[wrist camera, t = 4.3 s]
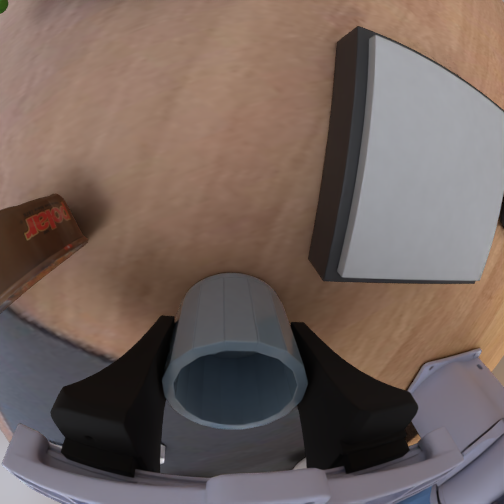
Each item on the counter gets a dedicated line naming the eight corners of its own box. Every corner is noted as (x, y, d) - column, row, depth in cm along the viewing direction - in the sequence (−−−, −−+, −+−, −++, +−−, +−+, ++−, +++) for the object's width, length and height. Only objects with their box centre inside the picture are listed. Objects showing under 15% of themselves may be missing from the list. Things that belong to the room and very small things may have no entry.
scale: (483, 113, 11) (516, 115, 8) (455, 268, 15) (482, 288, 12) (336, 41, 9) (364, 20, 7) (307, 259, 13) (327, 288, 11)
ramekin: (292, 275, 13) (323, 341, 9) (275, 358, 15) (291, 427, 11) (177, 268, 13) (155, 335, 8) (180, 354, 15) (169, 425, 10)
